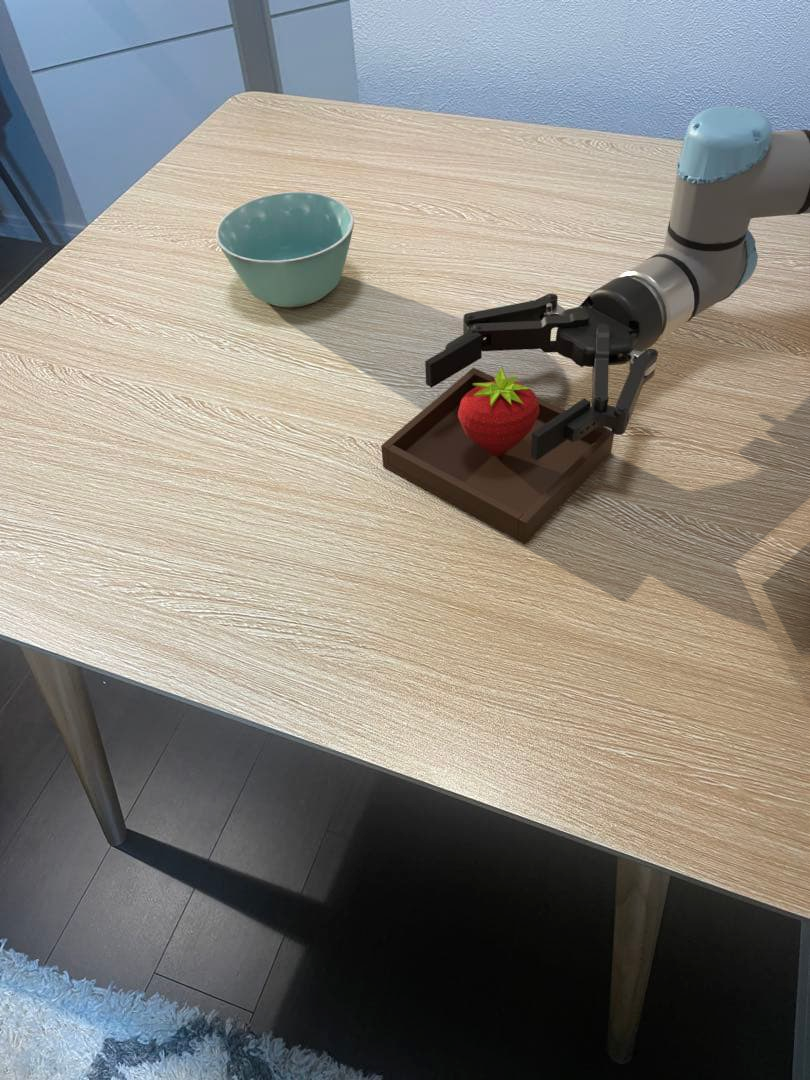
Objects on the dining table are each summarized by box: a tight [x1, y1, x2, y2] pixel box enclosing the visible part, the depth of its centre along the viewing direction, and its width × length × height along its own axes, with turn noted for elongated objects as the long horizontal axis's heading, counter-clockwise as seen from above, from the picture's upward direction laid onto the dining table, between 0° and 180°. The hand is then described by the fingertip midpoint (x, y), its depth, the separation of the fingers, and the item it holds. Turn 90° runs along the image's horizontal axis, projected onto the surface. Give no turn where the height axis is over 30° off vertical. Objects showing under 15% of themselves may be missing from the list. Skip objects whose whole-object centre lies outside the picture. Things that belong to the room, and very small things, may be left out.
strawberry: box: [458, 363, 539, 456], centre depth 84 cm, size 6×8×10 cm
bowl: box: [215, 191, 355, 308], centre depth 107 cm, size 16×16×8 cm
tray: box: [380, 367, 615, 545], centre depth 87 cm, size 17×15×3 cm
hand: (478, 409), depth 81 cm, fingers open, 13 cm apart
